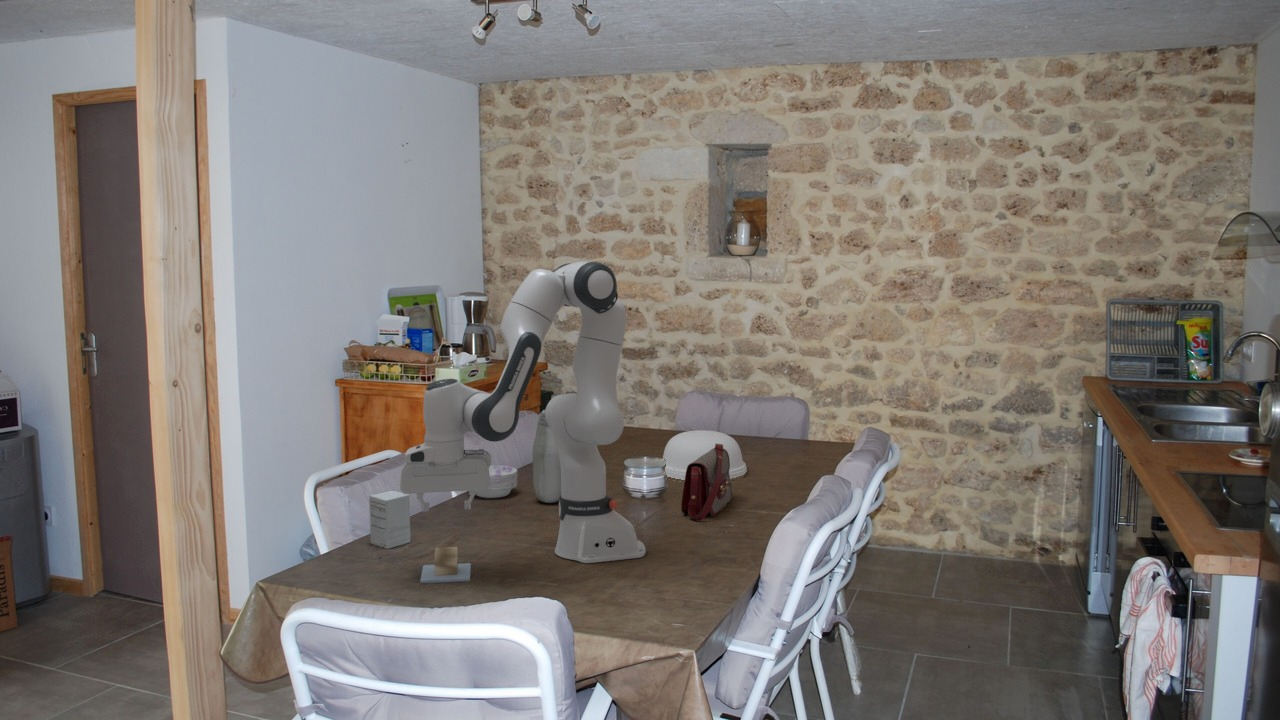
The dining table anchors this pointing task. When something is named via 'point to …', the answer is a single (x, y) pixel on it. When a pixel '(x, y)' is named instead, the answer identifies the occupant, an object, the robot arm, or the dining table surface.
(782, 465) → the dining table surface
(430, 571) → the coaster
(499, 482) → the paper bowls
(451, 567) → the beech cube
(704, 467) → the handbag
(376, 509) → the supplement box
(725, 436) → the dome cover
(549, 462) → the glass bottle
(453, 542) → the dining table surface
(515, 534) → the dining table surface
